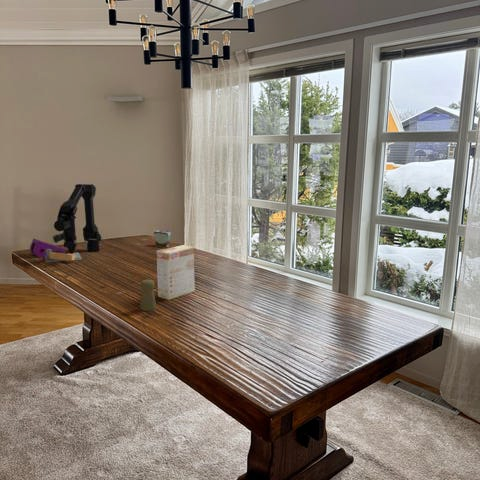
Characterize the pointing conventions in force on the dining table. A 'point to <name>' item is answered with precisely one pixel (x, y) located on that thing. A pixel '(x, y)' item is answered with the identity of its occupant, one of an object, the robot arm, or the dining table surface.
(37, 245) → the mounting bracket
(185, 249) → the coffeecake box
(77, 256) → the chassis plate
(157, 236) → the food container
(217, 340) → the dining table surface
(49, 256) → the swing arm
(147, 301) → the olive green upright piece
